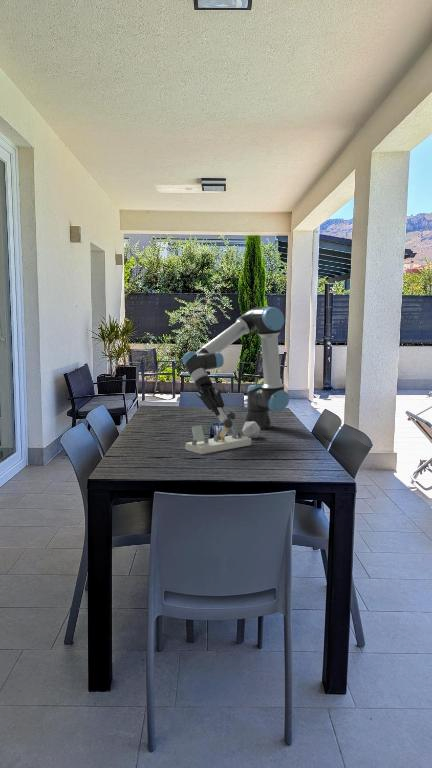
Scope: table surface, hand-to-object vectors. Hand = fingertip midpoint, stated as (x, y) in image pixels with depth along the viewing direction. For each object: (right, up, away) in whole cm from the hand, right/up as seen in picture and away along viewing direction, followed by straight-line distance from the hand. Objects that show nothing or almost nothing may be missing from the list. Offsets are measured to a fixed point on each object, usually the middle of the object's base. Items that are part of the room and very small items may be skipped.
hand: (224, 420), depth 246 cm
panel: (-2, -12, +5) cm, 13 cm away
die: (+14, -10, +27) cm, 32 cm away
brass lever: (-2, -9, +4) cm, 10 cm away
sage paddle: (-11, -10, -3) cm, 15 cm away
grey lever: (+6, -9, +12) cm, 16 cm away
